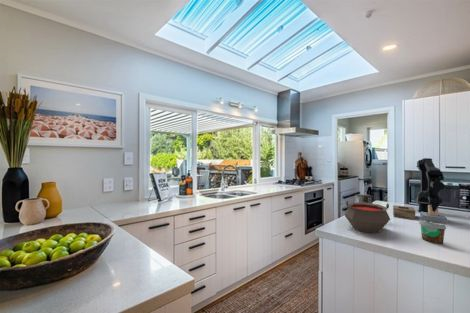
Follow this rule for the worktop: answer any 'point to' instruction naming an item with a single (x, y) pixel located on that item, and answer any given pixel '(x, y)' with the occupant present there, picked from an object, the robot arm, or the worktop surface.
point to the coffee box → (363, 198)
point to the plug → (432, 211)
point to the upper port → (404, 212)
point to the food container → (432, 231)
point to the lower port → (434, 217)
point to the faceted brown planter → (367, 216)
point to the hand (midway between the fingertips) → (433, 210)
